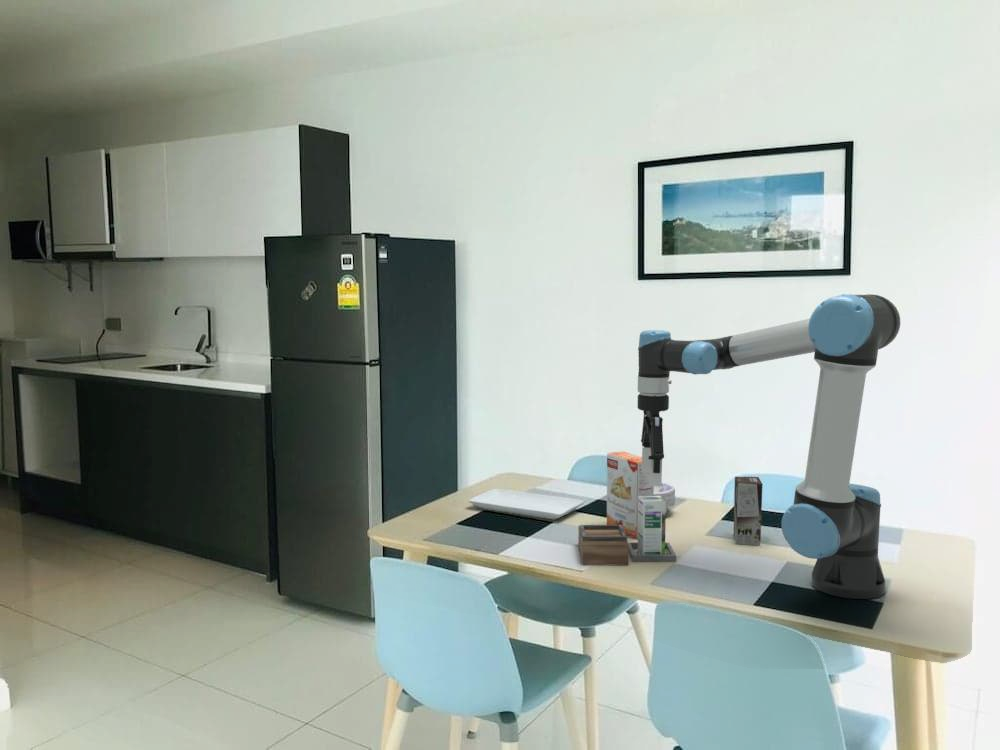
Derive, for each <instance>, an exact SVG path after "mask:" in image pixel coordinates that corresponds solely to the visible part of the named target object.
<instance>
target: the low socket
mask: <svg viewBox="0 0 1000 750" xmlns="http://www.w3.org/2000/svg"><path fill="white" fill-rule="evenodd" d="M628 544H629V557H630V559H631V562H638V561H640V562H642V561H643V562H645V563H647V562H649V563H650V562H653V563H655V562H658V563H662V562H661V561H664V562H663V563H665V561H666V562H667V561H668V562H669V563H673V562H674V563H677V555H676V552H675V551H674V549H673V546H672V545H671V544H670V542H666V541H665V550H666V549H667V550H666V552H667V551H668V552H667V553H668V554H665V555H646V554H639V553H638V554H636V553H635V551H634V550H638V541H637V542H636V541H634V542H633V541H628ZM668 562H667V563H668Z"/></svg>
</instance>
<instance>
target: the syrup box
mask: <svg viewBox="0 0 1000 750" xmlns="http://www.w3.org/2000/svg"><path fill="white" fill-rule="evenodd" d="M666 514H667V512H666V501H665V500H664V498H663V497H661V496H639V497H638V539H637V542H638V549H637V552H638V554H646V555H666V549H665V542H666V527H667V526H666V524H667V523H666Z"/></svg>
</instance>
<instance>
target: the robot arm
mask: <svg viewBox="0 0 1000 750" xmlns="http://www.w3.org/2000/svg"><path fill="white" fill-rule="evenodd" d="M900 327H901V316H900V313H899V310H898V309H897V306H895V304H894V303H893V302H891V301H890V299H888V298H886V297H884V296H881V295H878V294H852V293H849V294H845V293H844V294H840V295H836V296H832V297H828V298H827V299H825V300H823V301H822V302H821V303H819V304H818V305H817V307H815V309H814V310H813V312H812V313H811V315H810V318H806V319H802V320H798V321H792V322H788V323H784V324H779V325H775V326H770V327H766V328H761V329H756V330H752V331H747V332H743V333H739V334H734V335H727V336H723V337H718V338H711V339H697V340H696V339H695V340H681V339H680V340H676V339H672V335H671V332H670V331H668V330H661V329H660V330H658V329H655V330H653V329H652V330H651V329H648V330H647V329H646V330H643V331H641V332H639V333H640V334H639V339H638V340H639V341H638V349H637V351H638V376H637V392H638V395H637V406H636V407H637V409H638V410H639V411H643V419H642V421H643V422H642V430H641V440H640V443H641V446H642V447H641V448H642V449H641V451H642V452H641V457H642V473H650V486H661V484H662V483H663V482H662V476H663V474H662V472H663V459H664V458H665V454H664V437H663V436H664V435H663V434H664V432H663V421H664V419H663V417H662V416H660V412H666V411H668V410H669V407H670V396H669V395H668V393H669V392H670V385H671V384H672V383H673V382H672V380H671V379H670V372H676V373H686V374H692V375H708V374H710V373H711V372H712V371H717V370H729V369H733V368H735V367H739V366H745V365H752V364H758V363H762V362H768V361H773V360H778V359H784V358H790V357H796V356H801V355H806V354H814V355H813V360H814V361H815V362H816V363H817V365H818V366H819V368H820V369H819V376H818V377H819V378H818V384H817V390H816V397H815V406H814V413H813V419H812V420H813V421H812V426H811V432H810V433H811V434H810V439H809V447H808V454H807V462H806V469H805V475H804V480H802V481H800V482H799V484H797V485H796V487H795V491H794V496H793V497H794V498H793V504H792V505H791V506H789V507H788V508H787V509H786V511H785V512H783V515H782V518H781V523H780V524H781V531H782V535H783V537H784V539H785V541H786V542H787V543H788V545H789V546H790V548H791V550H793V551H794V552H796V554H798V555H801V556H803V557H805V558H807V559H812V560H816V561H815V564H814V567H813V569H812V571H811V579H810V581H811V582H810V583H811V585H812V587H813V588H814V589H816V590H818V591H820V592H822V593H825V594H827V595H831V596H834V597H839V598H844V599H852V600H869V599H876V598H880V597H882V596H884V595H885V594H886V579H885V575H884V571H883V569H882V566H881V563H880V558H879V539H880V525H881V524H880V522H881V521H880V519H881V518H880V517H881V507H882V503H881V494H880V492H879V490H878V489H876V488H874V487H871V486H866V485H862V484H856V483H850V482H851V481H850V480H851V477H852V476H851V475H852V468H853V463H854V457H855V456H854V455H855V450H856V449H855V448H856V443H857V435H858V430H859V423H860V416H861V409H862V403H863V396H864V389H865V384H866V377H867V374H868V373H869V372H870V371H871V370H873V369H874V368H875V367H876V366H877V359H878V355H879V354H878V353H879V350H881V349H883V348H886V347H887V346H888V345H890V344H891V343H892V342H893V341H894V340H895V339H896V337H897V335H898V334H899V331H900Z"/></svg>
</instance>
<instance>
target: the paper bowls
mask: <svg viewBox="0 0 1000 750" xmlns="http://www.w3.org/2000/svg"><path fill="white" fill-rule="evenodd" d="M653 496H661V497H663V498H664V500H665V501H666V513H667V512H668V510H669V508H671V507H673V506H674V505H676V488H675V487H674V486H673V485H671V484H669V483H664V482H662V484H661V486H654V495H653Z"/></svg>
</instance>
